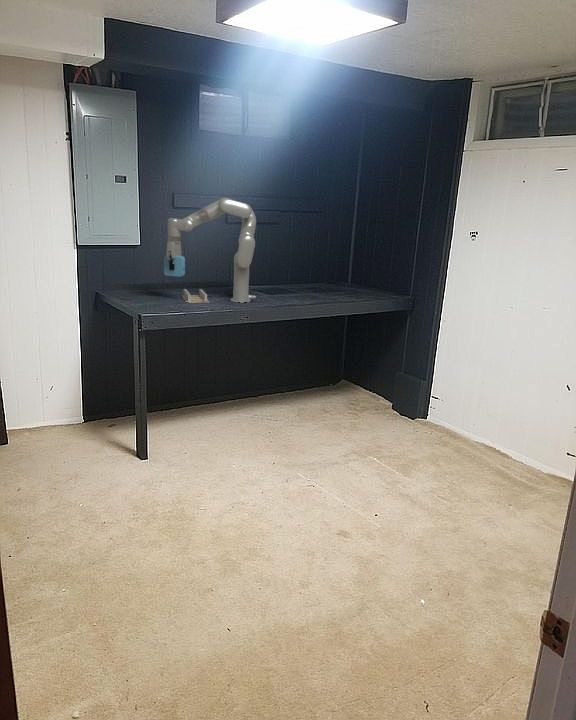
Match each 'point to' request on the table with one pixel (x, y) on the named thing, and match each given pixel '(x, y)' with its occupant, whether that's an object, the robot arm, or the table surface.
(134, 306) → the table surface
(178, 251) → the robot arm
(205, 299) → the bay
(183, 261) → the data package
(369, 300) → the table surface
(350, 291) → the table surface
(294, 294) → the table surface
